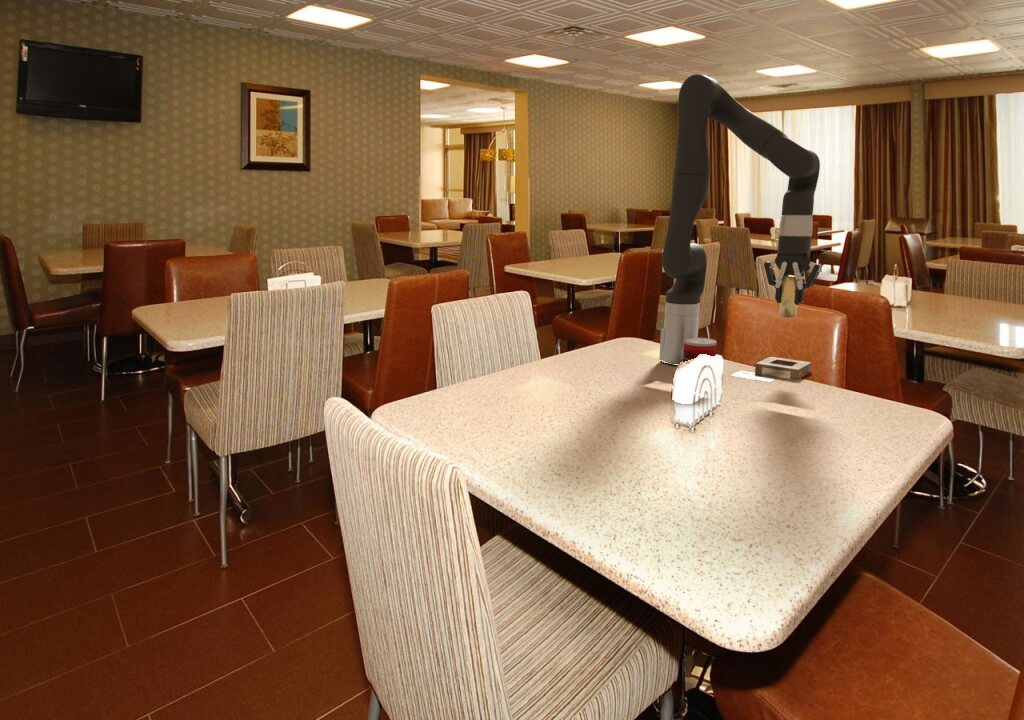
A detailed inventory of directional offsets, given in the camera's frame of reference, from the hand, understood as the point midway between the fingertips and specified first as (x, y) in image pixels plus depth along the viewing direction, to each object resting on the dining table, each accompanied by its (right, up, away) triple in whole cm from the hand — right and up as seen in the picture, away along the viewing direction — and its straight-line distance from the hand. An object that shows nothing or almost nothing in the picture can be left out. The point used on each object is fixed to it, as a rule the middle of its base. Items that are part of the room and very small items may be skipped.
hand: (789, 303), depth 168 cm
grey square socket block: (0, -19, +5) cm, 19 cm away
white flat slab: (-9, -20, +1) cm, 22 cm away
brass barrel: (0, -3, +1) cm, 3 cm away
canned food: (-23, -20, -1) cm, 31 cm away
